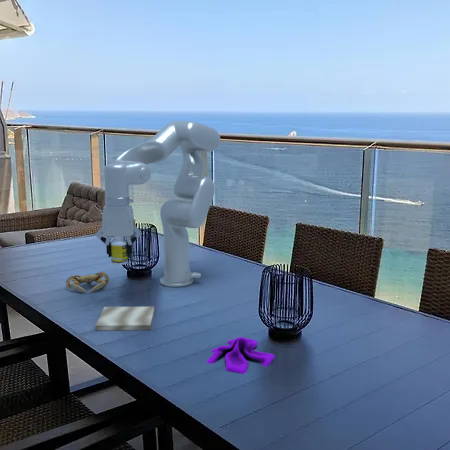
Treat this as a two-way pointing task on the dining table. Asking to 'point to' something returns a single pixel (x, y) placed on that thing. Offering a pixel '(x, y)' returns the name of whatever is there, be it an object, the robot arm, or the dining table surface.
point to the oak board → (125, 318)
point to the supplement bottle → (119, 251)
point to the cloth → (240, 355)
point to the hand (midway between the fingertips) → (119, 255)
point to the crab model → (87, 281)
